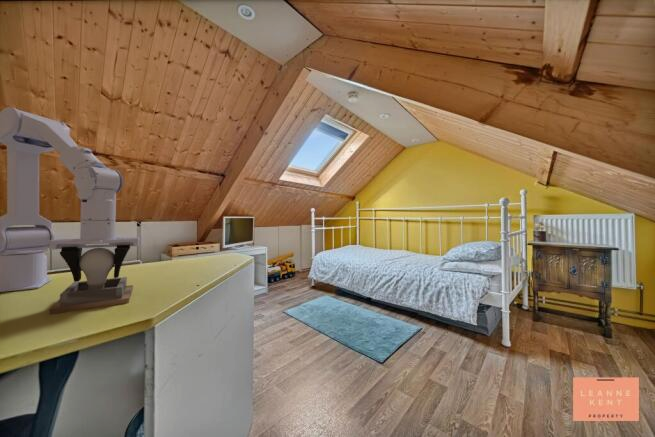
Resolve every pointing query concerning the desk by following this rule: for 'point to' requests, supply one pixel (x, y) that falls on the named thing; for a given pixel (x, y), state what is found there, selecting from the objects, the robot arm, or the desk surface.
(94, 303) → the socket base
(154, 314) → the desk surface
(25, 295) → the desk surface
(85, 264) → the lightbulb
